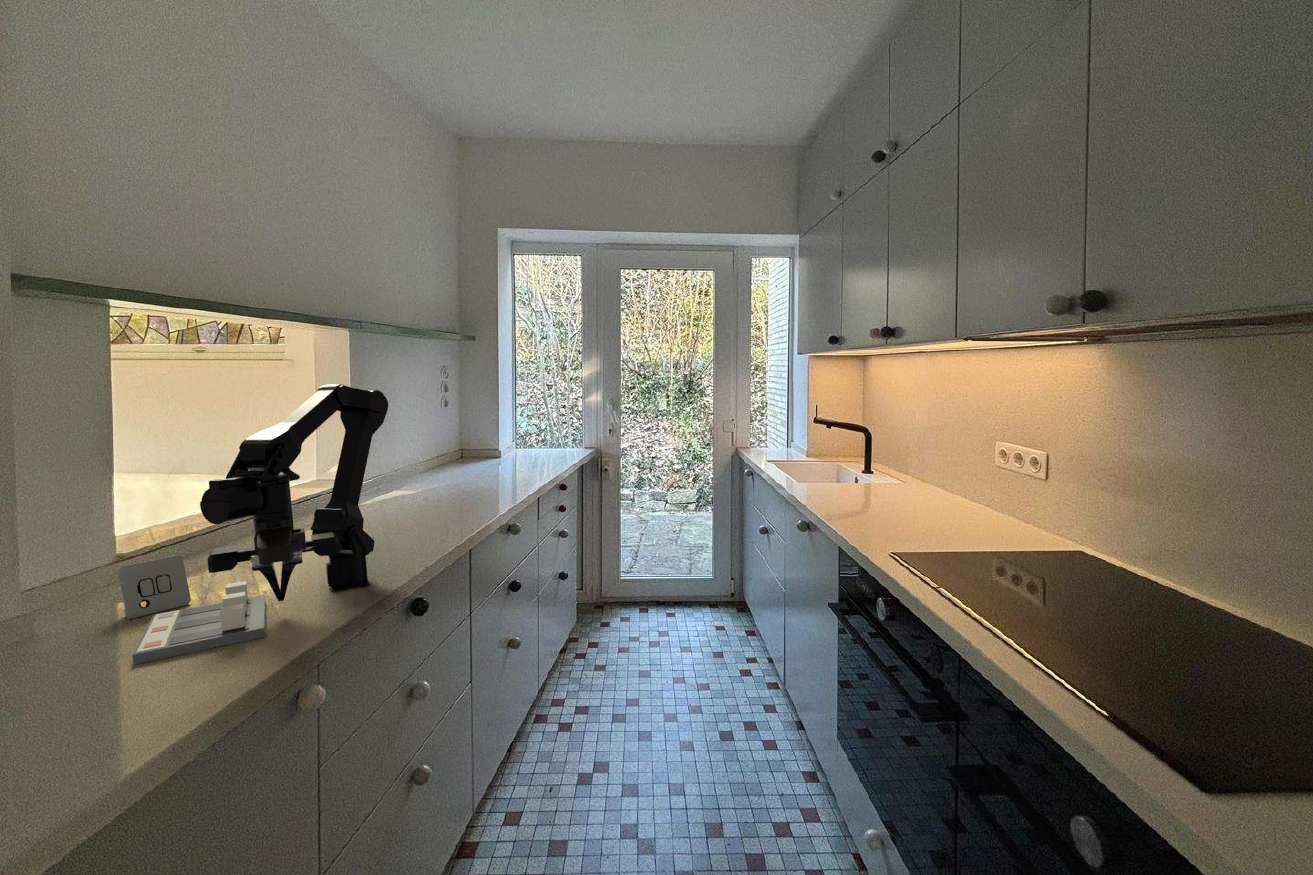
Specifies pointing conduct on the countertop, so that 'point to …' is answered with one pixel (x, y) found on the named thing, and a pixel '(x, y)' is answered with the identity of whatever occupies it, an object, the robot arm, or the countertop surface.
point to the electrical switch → (154, 586)
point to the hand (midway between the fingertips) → (281, 600)
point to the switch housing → (197, 630)
